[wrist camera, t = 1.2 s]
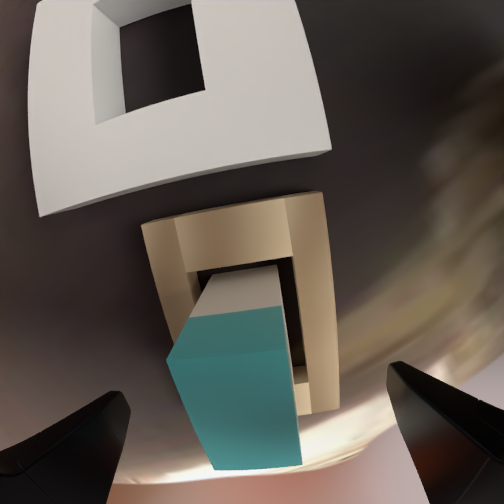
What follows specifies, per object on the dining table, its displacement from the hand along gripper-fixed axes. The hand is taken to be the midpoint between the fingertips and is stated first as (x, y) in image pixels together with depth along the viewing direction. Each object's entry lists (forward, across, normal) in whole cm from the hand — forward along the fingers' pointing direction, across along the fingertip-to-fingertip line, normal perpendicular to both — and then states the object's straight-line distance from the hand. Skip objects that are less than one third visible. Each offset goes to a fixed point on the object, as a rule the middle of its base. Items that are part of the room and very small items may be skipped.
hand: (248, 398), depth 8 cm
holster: (+6, 0, 0) cm, 6 cm away
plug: (+6, 0, 0) cm, 6 cm away
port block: (+6, +2, -13) cm, 14 cm away
